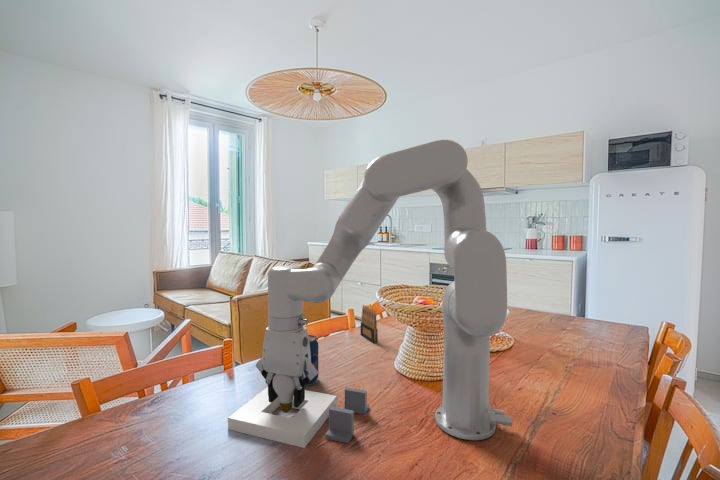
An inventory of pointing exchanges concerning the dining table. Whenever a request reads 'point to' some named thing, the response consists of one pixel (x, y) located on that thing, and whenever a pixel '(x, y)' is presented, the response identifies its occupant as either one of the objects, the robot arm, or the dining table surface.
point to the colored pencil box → (369, 325)
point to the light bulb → (284, 391)
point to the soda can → (313, 357)
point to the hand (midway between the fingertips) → (286, 401)
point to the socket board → (283, 418)
